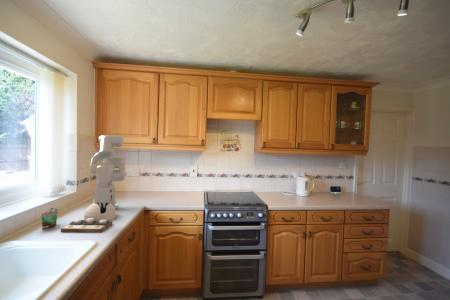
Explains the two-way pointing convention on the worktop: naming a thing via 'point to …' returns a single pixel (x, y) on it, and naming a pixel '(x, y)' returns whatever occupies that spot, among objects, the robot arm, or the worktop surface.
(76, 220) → the button
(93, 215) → the kettle
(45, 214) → the food container
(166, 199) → the worktop surface
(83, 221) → the button board
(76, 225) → the pattern card
